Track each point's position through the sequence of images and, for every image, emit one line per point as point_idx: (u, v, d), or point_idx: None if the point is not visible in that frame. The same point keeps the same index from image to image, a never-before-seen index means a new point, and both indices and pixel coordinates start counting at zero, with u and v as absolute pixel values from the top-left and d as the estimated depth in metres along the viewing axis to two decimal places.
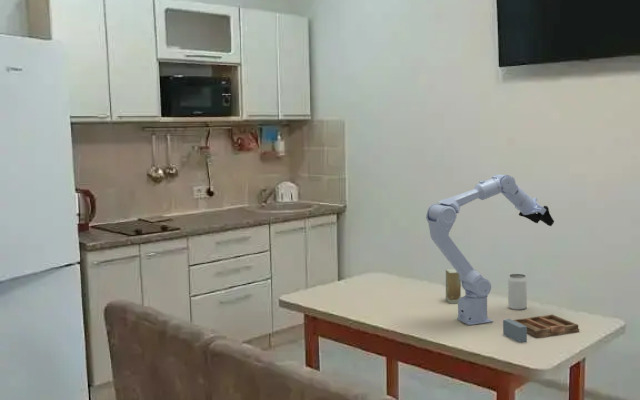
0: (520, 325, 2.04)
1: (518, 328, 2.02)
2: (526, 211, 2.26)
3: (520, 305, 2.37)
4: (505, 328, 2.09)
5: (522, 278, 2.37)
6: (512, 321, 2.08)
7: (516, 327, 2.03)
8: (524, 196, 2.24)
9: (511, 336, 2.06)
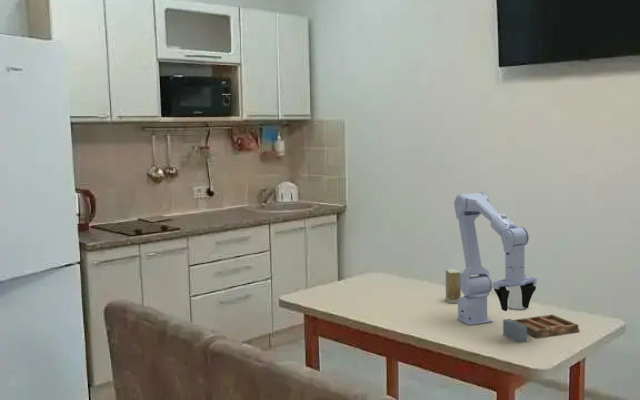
0: (520, 325, 2.04)
1: (518, 328, 2.02)
2: None
3: (520, 305, 2.37)
4: (505, 328, 2.09)
5: None
6: (512, 321, 2.08)
7: (516, 327, 2.03)
8: (509, 264, 2.03)
9: (511, 336, 2.06)
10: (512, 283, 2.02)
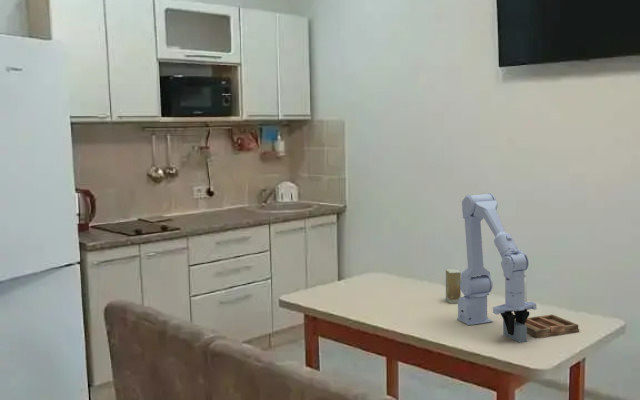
0: (520, 325, 2.04)
1: (518, 328, 2.02)
2: None
3: None
4: (505, 327, 2.09)
5: None
6: None
7: (516, 327, 2.03)
8: (509, 290, 2.03)
9: (511, 336, 2.06)
10: (512, 308, 2.03)
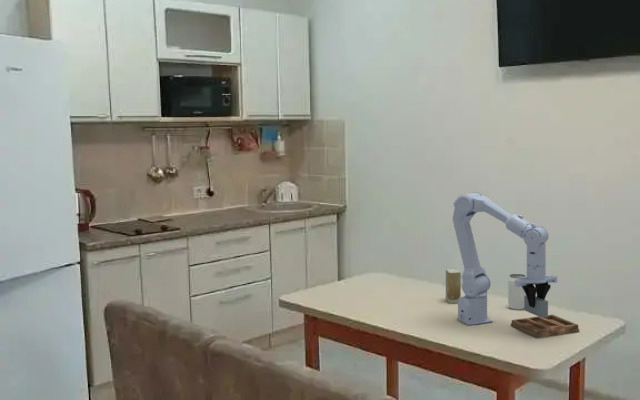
0: (541, 300, 2.09)
1: (539, 303, 2.07)
2: None
3: (520, 305, 2.37)
4: (526, 303, 2.14)
5: None
6: None
7: (538, 302, 2.08)
8: (535, 263, 2.07)
9: (532, 311, 2.11)
10: (533, 281, 2.08)
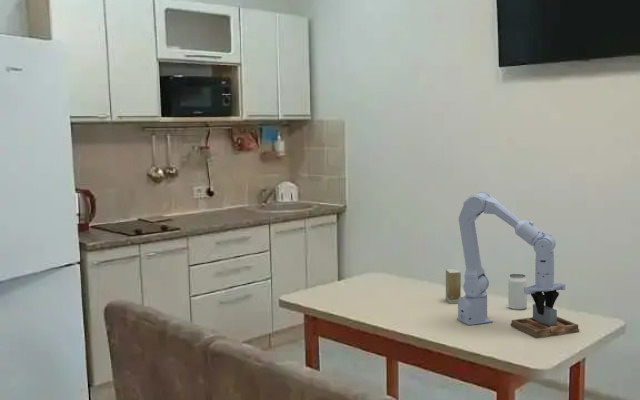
0: (550, 309, 2.11)
1: (548, 312, 2.10)
2: None
3: (520, 305, 2.37)
4: (535, 312, 2.17)
5: (522, 278, 2.37)
6: None
7: (546, 311, 2.11)
8: (545, 271, 2.10)
9: (541, 319, 2.14)
10: (542, 289, 2.10)
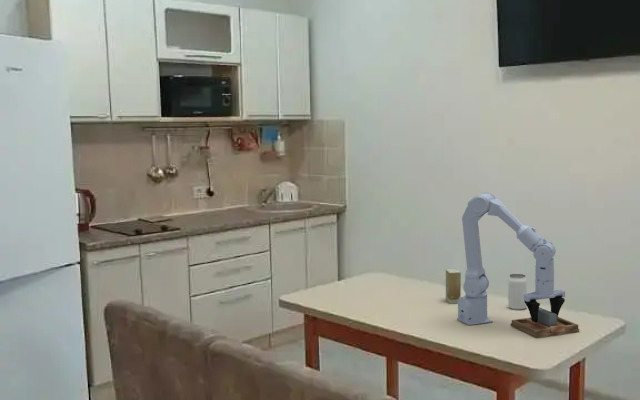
0: (550, 313, 2.11)
1: (548, 316, 2.10)
2: None
3: (520, 305, 2.37)
4: None
5: (522, 278, 2.37)
6: (542, 309, 2.16)
7: (546, 315, 2.11)
8: (545, 278, 2.10)
9: None
10: (542, 296, 2.11)
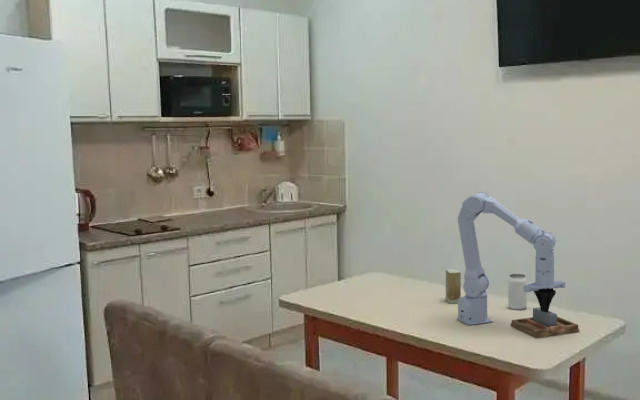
0: (550, 313, 2.11)
1: (548, 316, 2.10)
2: None
3: (520, 305, 2.37)
4: (535, 316, 2.17)
5: (522, 278, 2.37)
6: None
7: (546, 315, 2.11)
8: (545, 269, 2.10)
9: None
10: (542, 287, 2.10)
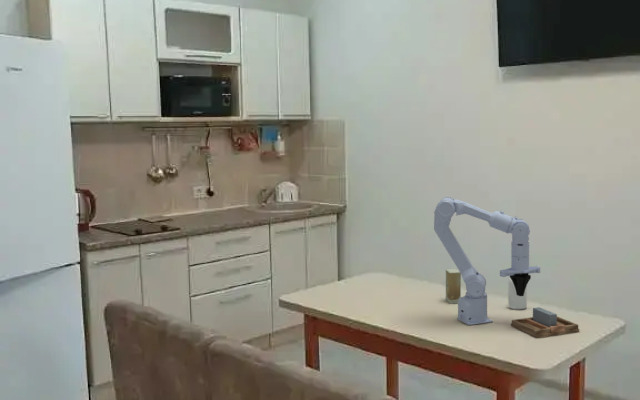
0: (550, 313, 2.11)
1: (548, 316, 2.10)
2: None
3: (520, 305, 2.37)
4: (535, 316, 2.17)
5: None
6: (542, 309, 2.16)
7: (546, 315, 2.11)
8: (522, 254, 2.17)
9: None
10: (518, 271, 2.17)
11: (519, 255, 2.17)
